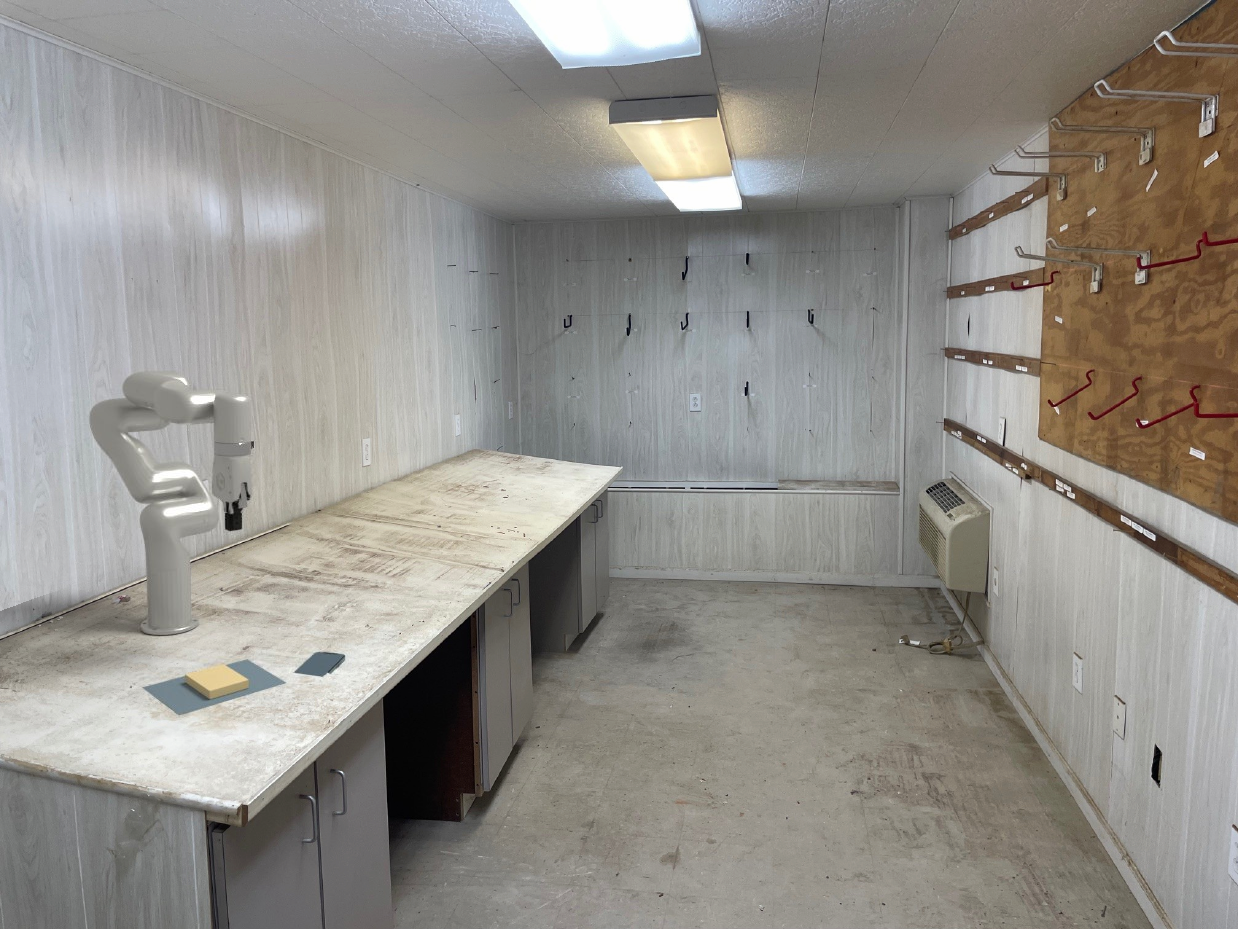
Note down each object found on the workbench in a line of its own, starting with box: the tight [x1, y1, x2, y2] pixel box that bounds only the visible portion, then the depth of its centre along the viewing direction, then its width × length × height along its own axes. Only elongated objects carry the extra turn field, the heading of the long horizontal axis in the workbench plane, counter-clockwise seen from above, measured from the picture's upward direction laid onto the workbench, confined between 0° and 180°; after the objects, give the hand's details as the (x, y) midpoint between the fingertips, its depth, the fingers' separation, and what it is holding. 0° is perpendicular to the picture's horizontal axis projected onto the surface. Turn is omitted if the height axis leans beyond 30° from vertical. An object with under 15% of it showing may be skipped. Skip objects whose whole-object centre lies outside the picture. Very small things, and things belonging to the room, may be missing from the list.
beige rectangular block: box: [184, 663, 249, 699], centre depth 176 cm, size 2×8×11 cm
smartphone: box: [293, 651, 346, 678], centre depth 189 cm, size 8×2×15 cm
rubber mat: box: [142, 658, 287, 716], centre depth 177 cm, size 17×22×1 cm
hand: (233, 529), depth 191 cm, fingers closed
